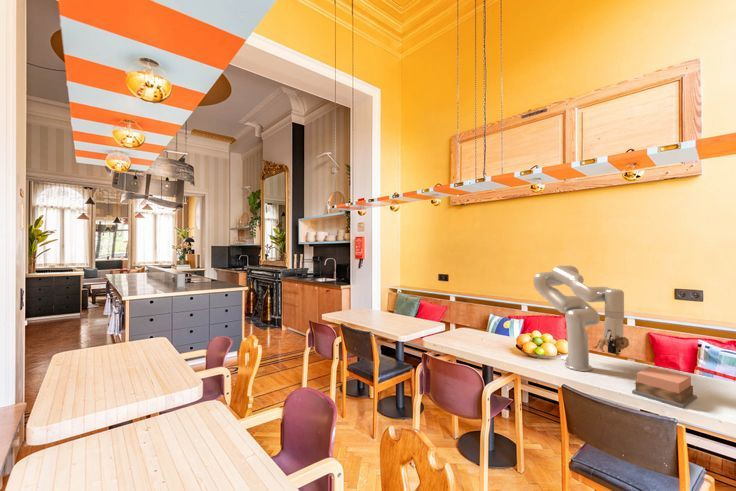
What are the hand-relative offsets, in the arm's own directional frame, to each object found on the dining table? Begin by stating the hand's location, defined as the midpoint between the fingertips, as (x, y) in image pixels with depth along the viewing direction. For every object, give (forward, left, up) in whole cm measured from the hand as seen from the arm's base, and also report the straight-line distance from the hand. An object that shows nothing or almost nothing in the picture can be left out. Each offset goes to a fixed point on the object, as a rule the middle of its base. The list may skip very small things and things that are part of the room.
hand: (614, 351), depth 160 cm
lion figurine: (-1, 0, -1) cm, 2 cm away
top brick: (+19, 0, -9) cm, 21 cm away
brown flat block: (+19, 0, -13) cm, 23 cm away
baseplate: (+19, 0, -14) cm, 23 cm away
